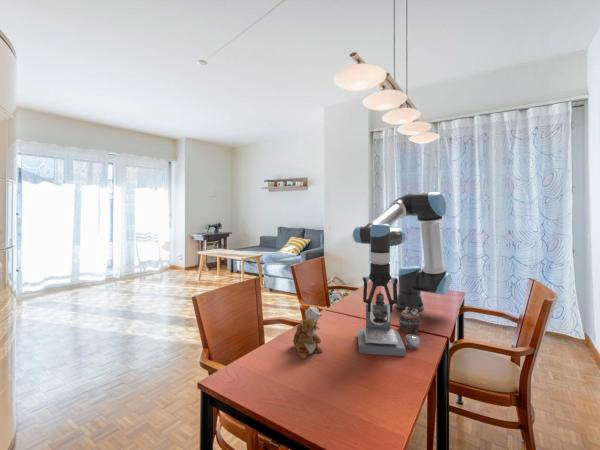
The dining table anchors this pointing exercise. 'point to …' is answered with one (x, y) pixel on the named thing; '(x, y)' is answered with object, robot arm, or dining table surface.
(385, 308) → the scale base
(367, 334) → the pan
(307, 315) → the game die
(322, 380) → the dining table surface
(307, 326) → the stuffed squirrel
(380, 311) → the dark grey tall piece
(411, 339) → the spacer
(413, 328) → the cupcake
